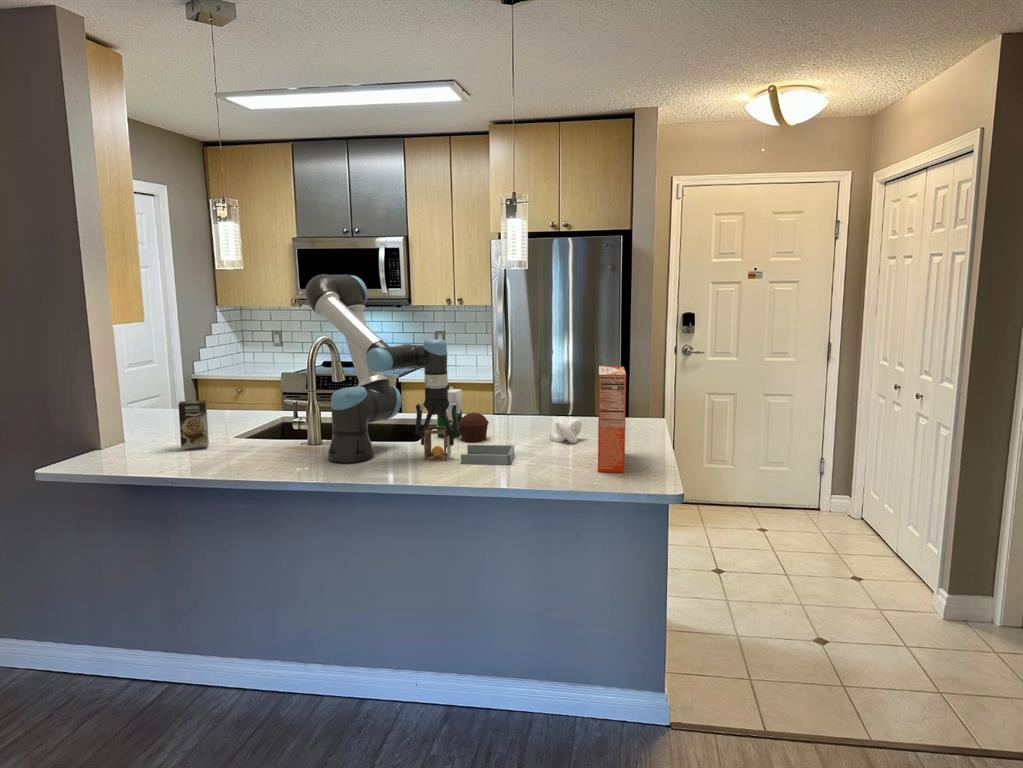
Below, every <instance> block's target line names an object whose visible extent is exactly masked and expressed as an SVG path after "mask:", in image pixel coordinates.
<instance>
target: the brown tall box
mask: <svg viewBox="0 0 1023 768" xmlns="http://www.w3.org/2000/svg"><path fill="white" fill-rule="evenodd" d="M178 416H179V417H178V418H179V420H178V421H179V432H180V433H179V434H180V435H179V437H180V448H181V449H185V448H186V449H187V448H197V447H208V446H209V444H210V443H209V442H210V441H209V424H208V407H207V400H188V401H186V400H185V401H179V402H178Z"/></svg>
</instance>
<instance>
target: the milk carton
mask: <svg viewBox="0 0 1023 768" xmlns="http://www.w3.org/2000/svg"><path fill="white" fill-rule="evenodd" d="M446 387H447V388H448V401H449V403H450V404H457V405H458V406H457V419H458V426H459V433H458V434H457V435H454V440H455V439H457V438H458V437H460V436H462V434H461V428H460V425H459V421H460V420H461V419H462V417H463V402H462V401H463V389H461V388H460V389H457V388H450V384H449V383H448V385H447V386H446ZM446 413H447V417H448V419H449V422H450V424H451V427H452V429H453V431H454V427H453V419H452V411H451V410H450V407H448V408H447V410H446ZM436 419H437V420H436V421H437V423H436V424H437V426H445V424H444V421H443V418H442V417H441V415H437V418H436ZM437 438H439V439H444V434H437Z"/></svg>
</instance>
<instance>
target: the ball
mask: <svg viewBox="0 0 1023 768" xmlns="http://www.w3.org/2000/svg"><path fill="white" fill-rule="evenodd" d="M431 453H432V455H433V456H432V457H433V458H443V457H444V456H443V453H444V447H441V446H440V445H437V446H436V445H435V446H433V448H431Z"/></svg>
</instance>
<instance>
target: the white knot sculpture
mask: <svg viewBox="0 0 1023 768" xmlns="http://www.w3.org/2000/svg"><path fill="white" fill-rule="evenodd" d="M582 427H583V423H582V421H581V419H579V418H573V419H571V420H570V419H569V418H568V417H566V416H557V418H555V419H554V420H553V421H552V423H551V424H550V427H549V437H550V440H551V441H552V442H553V443H564V442H565V441H566V440H567V441H568V442H569V443H570V444H576V443H577V442H578V435H579V434H580V433H581V430H582Z"/></svg>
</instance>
